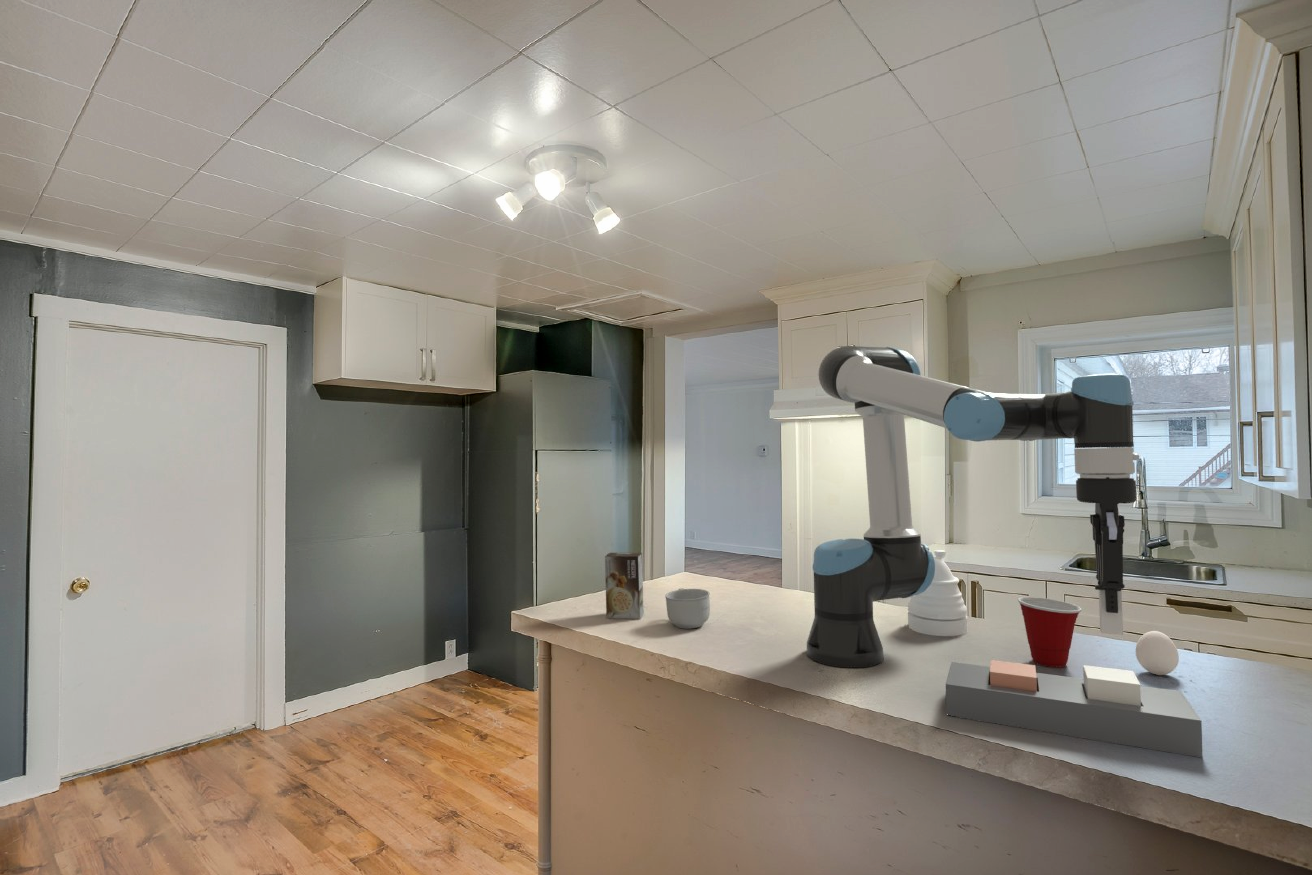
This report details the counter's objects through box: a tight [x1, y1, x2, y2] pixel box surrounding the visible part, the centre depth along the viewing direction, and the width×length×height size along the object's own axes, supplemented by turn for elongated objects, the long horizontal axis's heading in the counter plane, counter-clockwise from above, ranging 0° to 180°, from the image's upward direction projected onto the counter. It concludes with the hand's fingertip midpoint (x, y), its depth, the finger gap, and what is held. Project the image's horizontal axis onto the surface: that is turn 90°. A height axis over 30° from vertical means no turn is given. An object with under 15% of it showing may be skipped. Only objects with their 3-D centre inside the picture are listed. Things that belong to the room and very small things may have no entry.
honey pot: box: [907, 549, 969, 637], centre depth 154 cm, size 13×13×18 cm
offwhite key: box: [1082, 664, 1141, 706], centre depth 99 cm, size 6×6×4 cm
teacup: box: [664, 587, 711, 630], centre depth 161 cm, size 14×11×8 cm
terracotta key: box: [989, 659, 1037, 692], centre depth 105 cm, size 6×6×4 cm
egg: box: [1135, 630, 1180, 676], centre depth 121 cm, size 6×6×8 cm
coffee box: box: [604, 552, 645, 620], centre depth 170 cm, size 9×6×16 cm
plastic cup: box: [1017, 596, 1082, 668], centre depth 128 cm, size 11×11×12 cm
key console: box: [945, 661, 1204, 758], centre depth 102 cm, size 32×12×5 cm, turn 62°
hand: (1111, 632), depth 99 cm, fingers closed
